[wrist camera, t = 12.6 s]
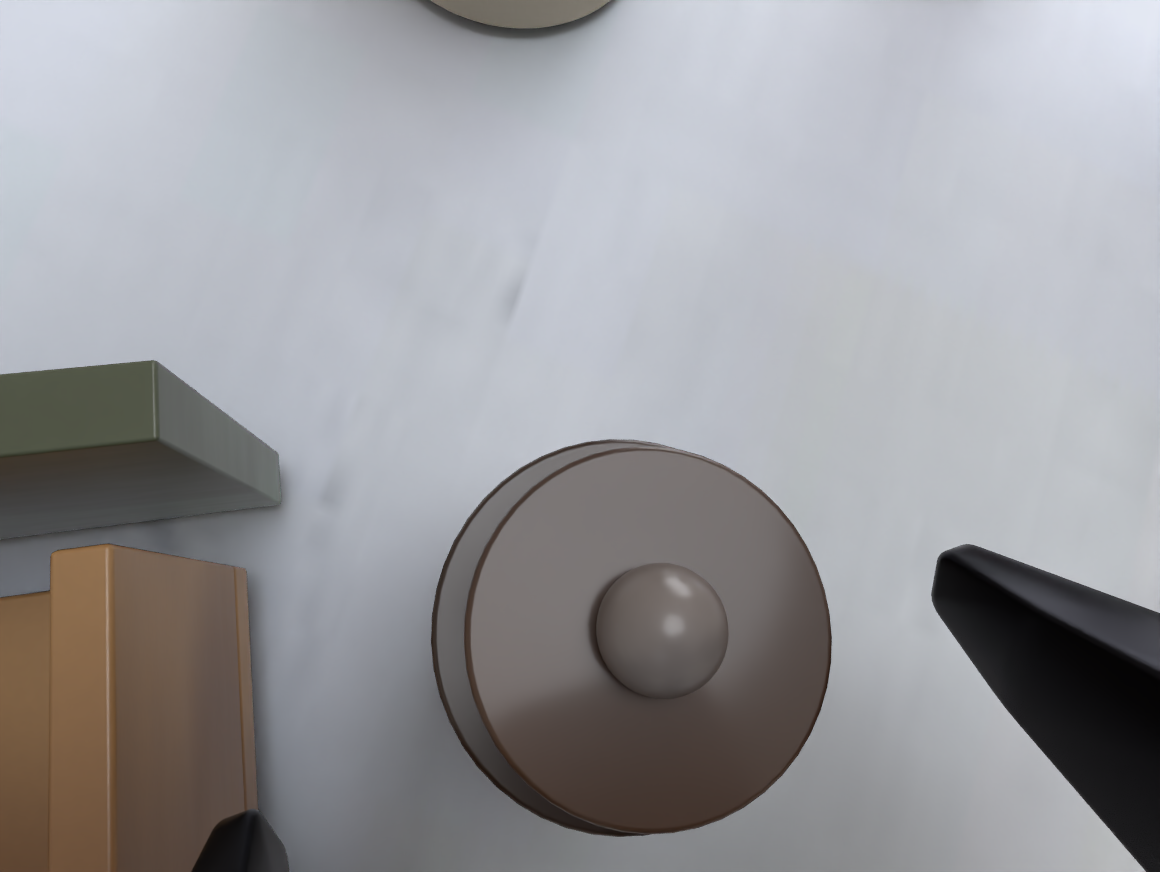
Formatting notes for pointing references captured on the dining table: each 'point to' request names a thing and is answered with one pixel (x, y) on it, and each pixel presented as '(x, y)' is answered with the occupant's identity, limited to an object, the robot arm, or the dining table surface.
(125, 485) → the drawer
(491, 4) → the travel mug
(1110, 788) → the robot arm
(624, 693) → the lidded jar
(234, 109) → the dining table surface
